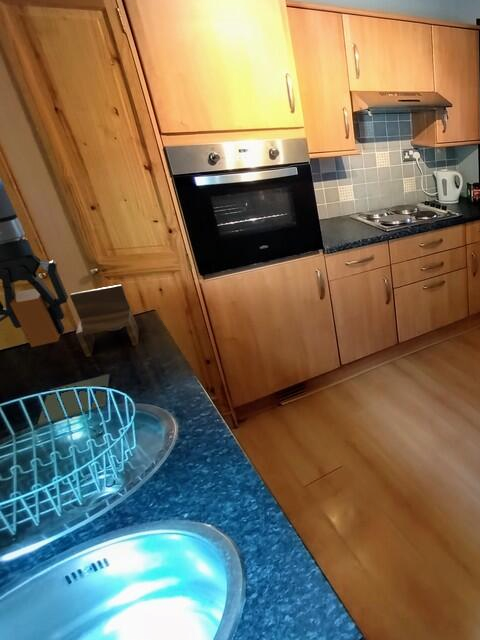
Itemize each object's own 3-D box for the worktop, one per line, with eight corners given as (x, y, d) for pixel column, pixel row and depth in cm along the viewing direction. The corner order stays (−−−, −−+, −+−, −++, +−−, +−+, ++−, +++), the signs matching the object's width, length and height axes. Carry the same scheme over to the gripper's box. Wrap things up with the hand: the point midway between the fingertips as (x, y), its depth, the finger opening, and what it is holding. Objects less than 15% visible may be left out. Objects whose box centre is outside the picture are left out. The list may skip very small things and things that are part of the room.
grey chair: (90, 340, 140) (69, 293, 134) (138, 329, 147) (121, 284, 140) (86, 357, 131) (64, 308, 125) (138, 344, 138) (119, 297, 131)
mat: (49, 391, 116) (48, 389, 116) (109, 375, 123) (108, 373, 122) (38, 425, 104) (37, 423, 104) (105, 406, 111) (104, 404, 111)
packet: (37, 333, 108) (17, 291, 104) (63, 327, 110) (44, 286, 106) (31, 347, 102) (9, 303, 98) (58, 341, 105) (38, 298, 100)
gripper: (-66, 252, 89) (-11, 353, 99) (54, 237, 99) (94, 330, 108) (-54, 243, 95) (-3, 339, 104) (59, 229, 104) (96, 318, 114)
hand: (46, 334), depth 106 cm, fingers closed on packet, 4 cm apart
